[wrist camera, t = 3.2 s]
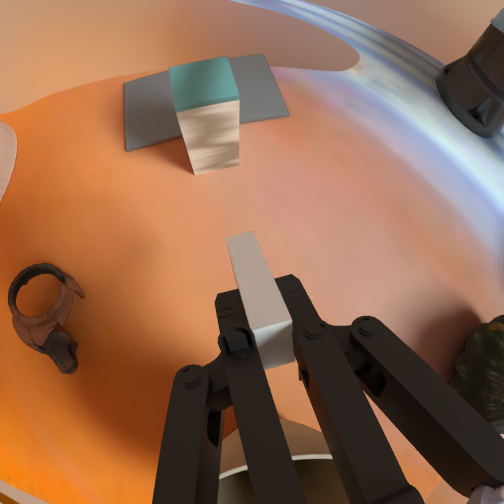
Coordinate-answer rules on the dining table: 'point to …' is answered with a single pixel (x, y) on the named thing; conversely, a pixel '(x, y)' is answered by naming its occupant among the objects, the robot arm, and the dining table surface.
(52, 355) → the vr controller
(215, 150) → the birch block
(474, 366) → the squash
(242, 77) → the mat
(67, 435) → the dining table surface
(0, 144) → the kettle
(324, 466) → the plant pot
